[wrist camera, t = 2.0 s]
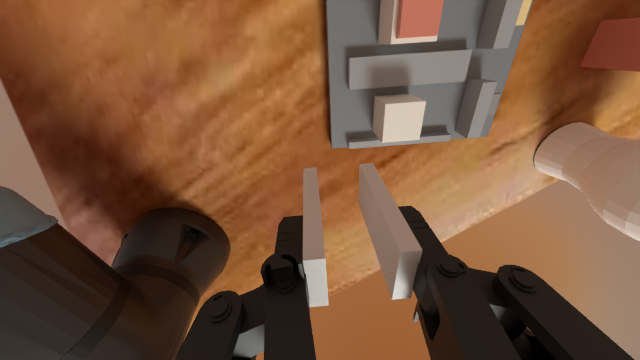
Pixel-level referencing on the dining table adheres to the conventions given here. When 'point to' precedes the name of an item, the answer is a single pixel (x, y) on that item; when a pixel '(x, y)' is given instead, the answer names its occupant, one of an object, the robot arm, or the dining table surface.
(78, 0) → the dining table surface
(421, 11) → the block
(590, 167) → the cup
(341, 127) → the panel
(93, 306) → the robot arm
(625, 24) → the cap
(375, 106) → the block
